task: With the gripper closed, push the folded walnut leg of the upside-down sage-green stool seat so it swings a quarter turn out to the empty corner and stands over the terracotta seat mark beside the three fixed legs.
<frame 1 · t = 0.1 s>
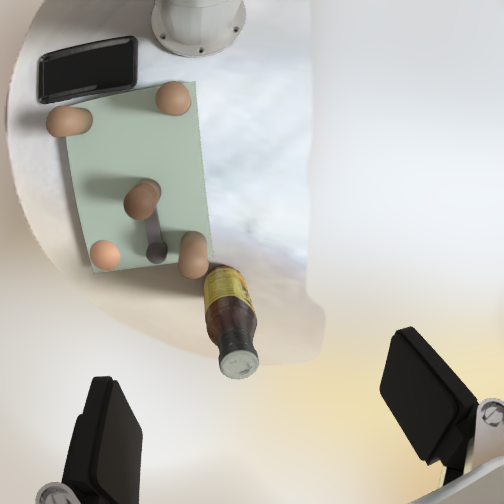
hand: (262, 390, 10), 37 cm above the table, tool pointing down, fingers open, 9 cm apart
phone: (87, 70, 34), on the table
stool seat: (138, 179, 41), on the table
sauce bottle: (223, 279, 49), on the table
folding leg: (148, 227, 38), point 6 cm above the table, hinge at 0.0°
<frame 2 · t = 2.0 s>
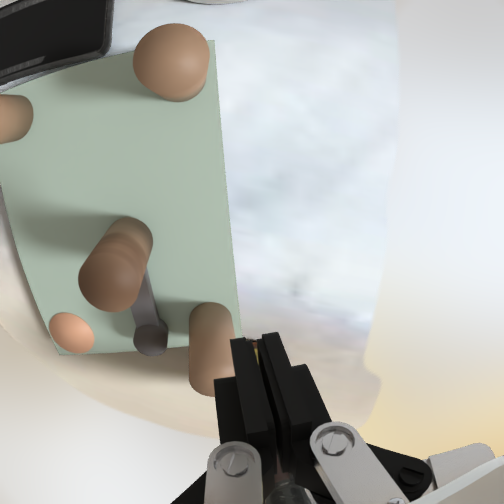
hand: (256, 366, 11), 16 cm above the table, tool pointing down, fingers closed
phone: (34, 35, 17), on the table
stool seat: (115, 213, 24), on the table
sauce bottle: (252, 358, 32), on the table
folding leg: (133, 309, 21), point 6 cm above the table, hinge at 0.0°
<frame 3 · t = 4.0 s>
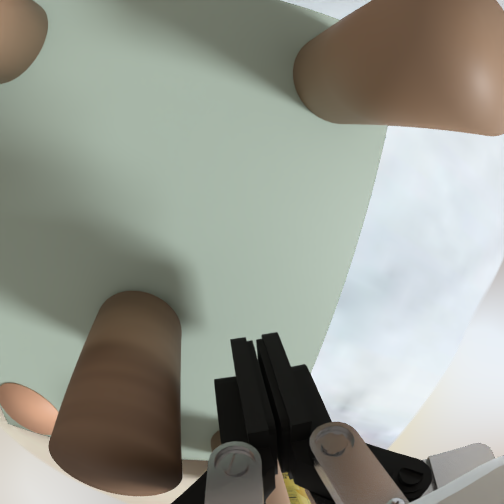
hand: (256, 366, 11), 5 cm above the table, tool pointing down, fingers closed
stool seat: (134, 265, 14), on the table
sauce bottle: (261, 464, 22), on the table
folding leg: (141, 447, 10), point 6 cm above the table, hinge at 6.2°, touching gripper
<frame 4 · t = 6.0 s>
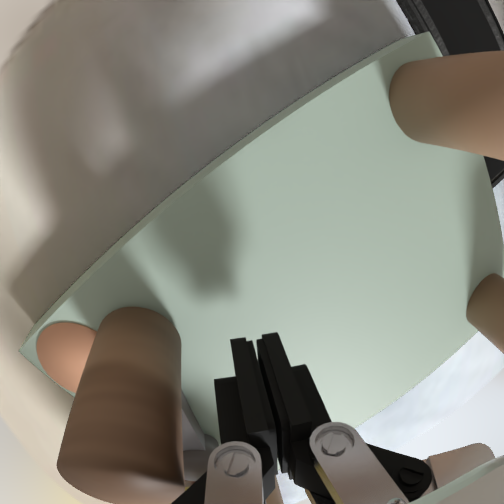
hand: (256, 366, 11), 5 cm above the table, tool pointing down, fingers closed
phone: (466, 59, 13), on the table
stool seat: (307, 312, 16), on the table
folding leg: (168, 457, 11), point 6 cm above the table, hinge at 63.9°, touching gripper
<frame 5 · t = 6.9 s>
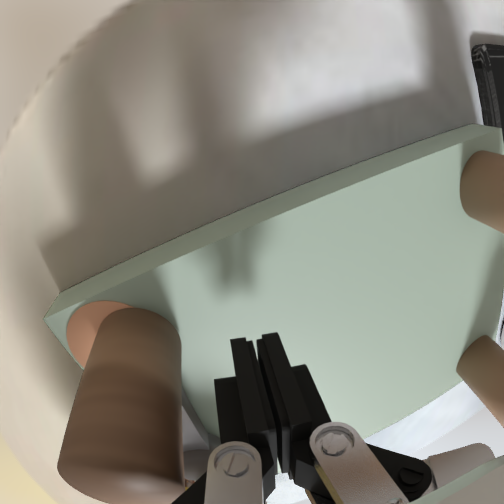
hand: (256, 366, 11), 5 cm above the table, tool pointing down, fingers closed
stool seat: (334, 337, 18), on the table
folding leg: (170, 457, 11), point 6 cm above the table, hinge at 80.9°, touching gripper
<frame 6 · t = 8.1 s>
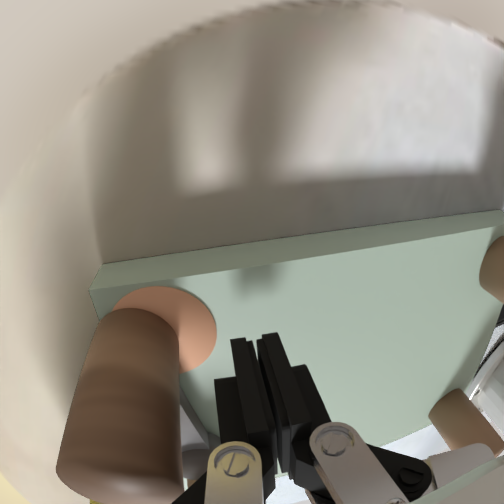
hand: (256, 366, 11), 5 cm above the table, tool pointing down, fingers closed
stool seat: (342, 364, 19), on the table
folding leg: (170, 457, 11), point 6 cm above the table, hinge at 97.9°, touching gripper
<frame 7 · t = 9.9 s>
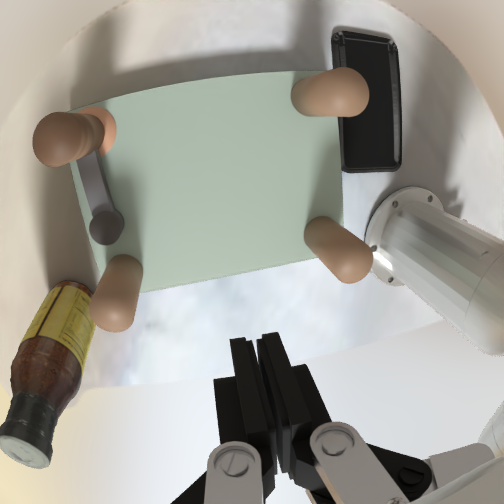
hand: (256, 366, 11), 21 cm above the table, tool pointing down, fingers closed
phone: (365, 102, 29), on the table
stool seat: (210, 178, 29), on the table
sauce bottle: (76, 301, 31), on the table
folding leg: (84, 184, 21), point 6 cm above the table, hinge at 93.3°
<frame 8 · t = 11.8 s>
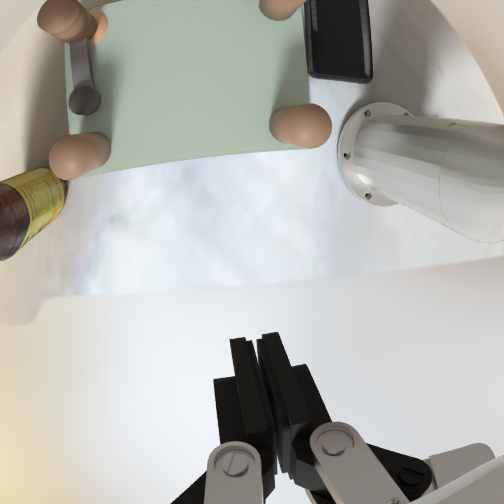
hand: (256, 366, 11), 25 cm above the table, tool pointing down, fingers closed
phone: (335, 22, 28), on the table
stool seat: (184, 73, 28), on the table
sauce bottle: (48, 192, 30), on the table
folding leg: (71, 56, 20), point 6 cm above the table, hinge at 93.3°
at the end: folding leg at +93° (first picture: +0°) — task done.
